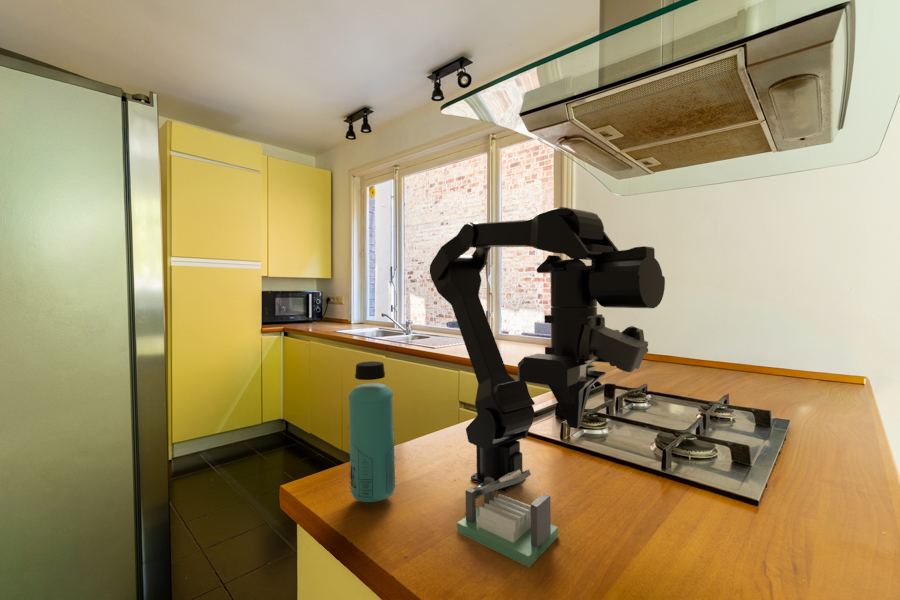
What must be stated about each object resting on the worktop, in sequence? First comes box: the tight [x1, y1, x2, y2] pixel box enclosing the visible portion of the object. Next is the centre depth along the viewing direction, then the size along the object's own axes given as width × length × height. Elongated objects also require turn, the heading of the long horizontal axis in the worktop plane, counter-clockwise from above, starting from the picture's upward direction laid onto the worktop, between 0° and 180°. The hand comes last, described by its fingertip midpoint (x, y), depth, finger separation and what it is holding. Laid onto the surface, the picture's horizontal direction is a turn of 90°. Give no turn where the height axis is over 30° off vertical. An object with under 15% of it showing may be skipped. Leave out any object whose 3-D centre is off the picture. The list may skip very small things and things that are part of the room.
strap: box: [473, 469, 532, 500], centre depth 49 cm, size 8×2×1 cm
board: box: [456, 477, 559, 568], centre depth 49 cm, size 10×7×6 cm
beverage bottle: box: [347, 361, 397, 503], centre depth 57 cm, size 6×7×20 cm
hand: (574, 427), depth 52 cm, fingers closed
